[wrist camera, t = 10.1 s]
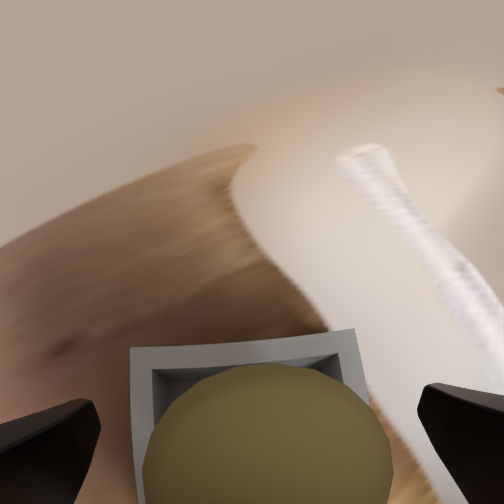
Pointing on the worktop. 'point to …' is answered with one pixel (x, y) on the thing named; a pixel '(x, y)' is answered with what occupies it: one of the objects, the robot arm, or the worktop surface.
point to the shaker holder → (219, 360)
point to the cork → (268, 442)
